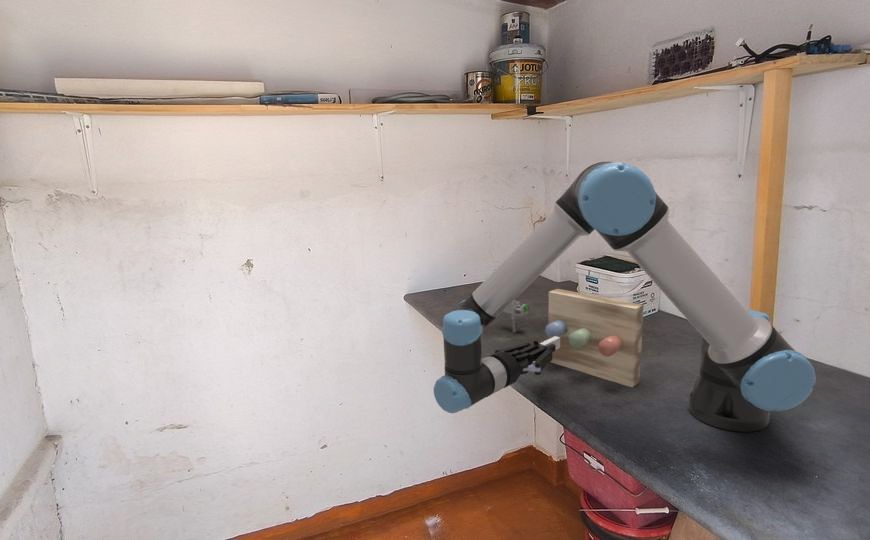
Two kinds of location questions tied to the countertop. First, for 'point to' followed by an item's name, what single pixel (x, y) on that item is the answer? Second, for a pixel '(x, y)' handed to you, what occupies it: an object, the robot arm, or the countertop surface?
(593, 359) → the button panel
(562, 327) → the slate blue button
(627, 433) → the countertop surface
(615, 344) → the brick red button
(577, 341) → the sage green button
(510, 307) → the mechanical component
